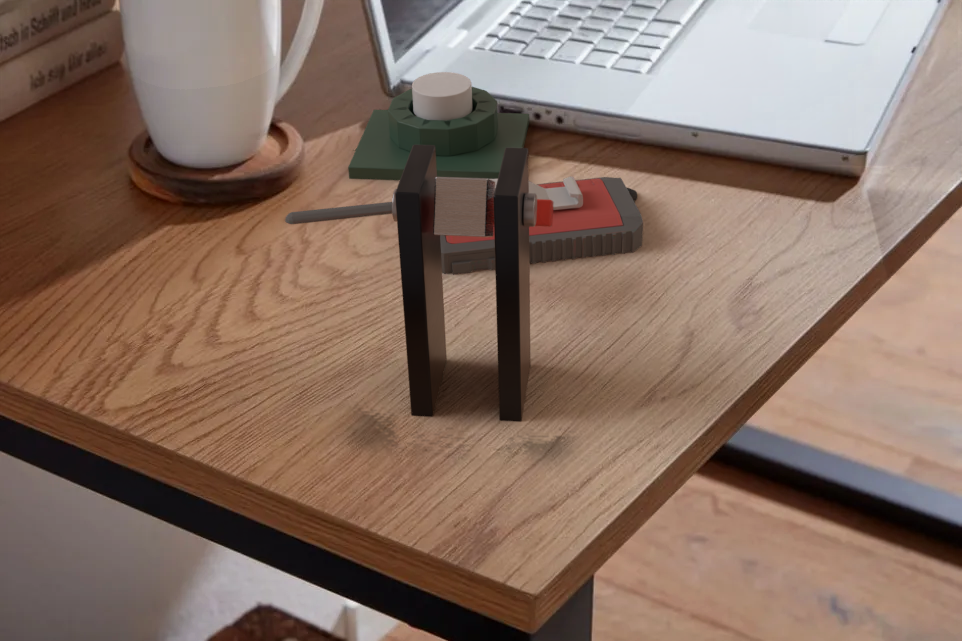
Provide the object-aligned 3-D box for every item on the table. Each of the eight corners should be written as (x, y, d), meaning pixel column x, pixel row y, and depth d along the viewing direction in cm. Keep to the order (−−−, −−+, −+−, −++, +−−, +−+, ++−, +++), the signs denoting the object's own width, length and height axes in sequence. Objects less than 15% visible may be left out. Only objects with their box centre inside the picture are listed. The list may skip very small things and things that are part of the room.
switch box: (530, 143, 86) (529, 85, 83) (516, 205, 79) (516, 144, 77) (376, 138, 87) (372, 81, 85) (350, 199, 80) (345, 139, 78)
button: (475, 98, 83) (475, 72, 82) (468, 124, 80) (467, 97, 79) (418, 97, 83) (417, 71, 82) (408, 122, 80) (407, 95, 79)
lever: (433, 233, 67) (435, 185, 67) (552, 237, 67) (554, 189, 66) (387, 233, 55) (389, 175, 55) (531, 238, 55) (534, 180, 55)
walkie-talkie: (624, 196, 79) (286, 232, 77) (627, 128, 77) (278, 164, 75) (666, 273, 72) (294, 315, 70) (670, 201, 70) (285, 242, 67)
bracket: (403, 359, 66) (386, 124, 59) (564, 367, 65) (566, 129, 58) (372, 463, 60) (348, 213, 53) (551, 474, 59) (552, 220, 52)
